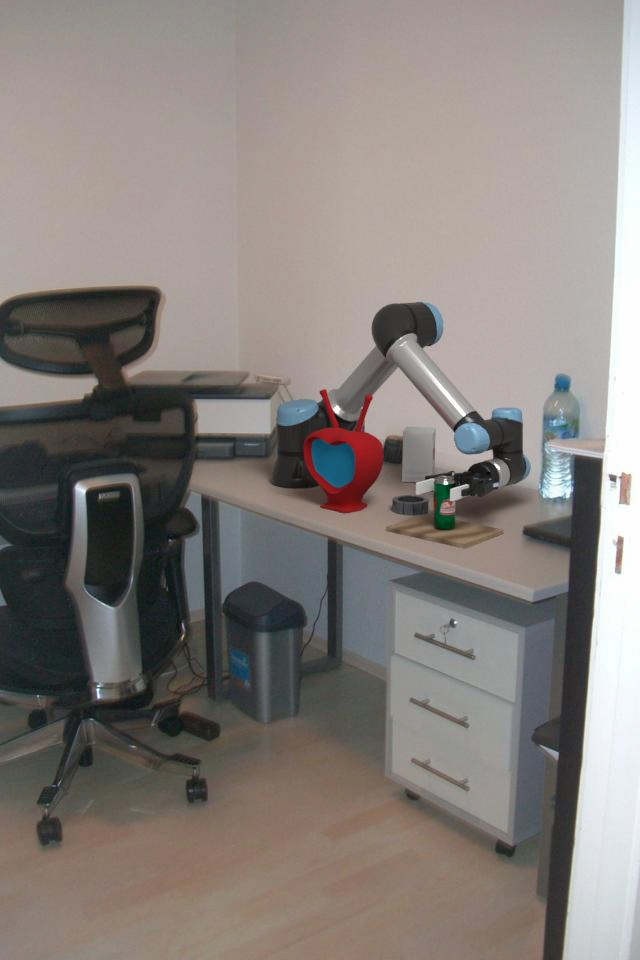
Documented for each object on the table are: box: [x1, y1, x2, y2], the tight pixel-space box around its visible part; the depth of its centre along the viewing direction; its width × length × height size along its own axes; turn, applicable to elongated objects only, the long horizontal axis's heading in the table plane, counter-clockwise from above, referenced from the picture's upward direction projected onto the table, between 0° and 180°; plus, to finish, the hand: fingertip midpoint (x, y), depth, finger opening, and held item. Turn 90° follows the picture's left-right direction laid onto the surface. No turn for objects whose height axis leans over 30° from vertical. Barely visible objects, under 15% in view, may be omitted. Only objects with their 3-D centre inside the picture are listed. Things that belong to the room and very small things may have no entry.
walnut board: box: [385, 513, 504, 549], centre depth 222 cm, size 22×16×1 cm
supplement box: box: [401, 426, 437, 483], centre depth 276 cm, size 9×9×15 cm
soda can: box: [433, 476, 457, 530], centre depth 221 cm, size 5×5×12 cm
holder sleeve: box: [391, 494, 430, 516], centre depth 242 cm, size 9×9×3 cm
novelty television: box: [303, 388, 385, 514], centre depth 243 cm, size 21×13×30 cm, turn 46°
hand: (434, 491), depth 217 cm, fingers open, 9 cm apart
